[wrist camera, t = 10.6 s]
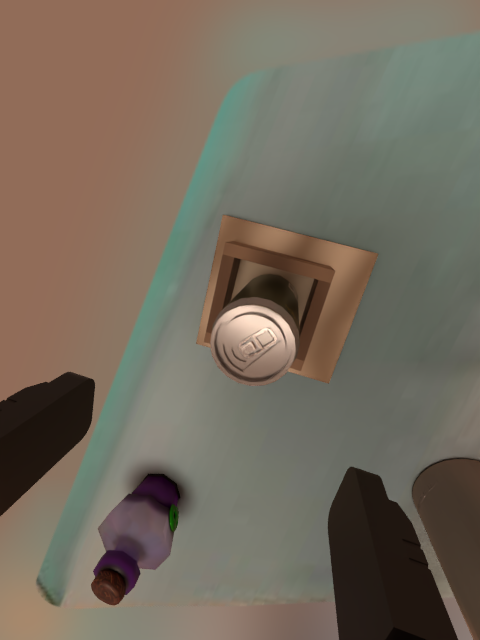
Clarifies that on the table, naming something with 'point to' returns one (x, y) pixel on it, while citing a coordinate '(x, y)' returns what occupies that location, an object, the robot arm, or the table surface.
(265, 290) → the beer can
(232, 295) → the can caddy
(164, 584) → the table surface
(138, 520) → the potion bottle
